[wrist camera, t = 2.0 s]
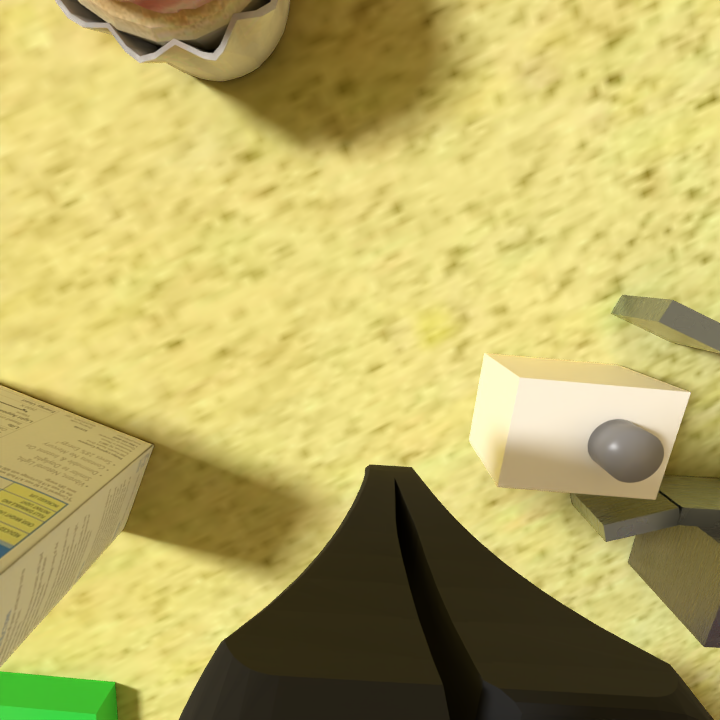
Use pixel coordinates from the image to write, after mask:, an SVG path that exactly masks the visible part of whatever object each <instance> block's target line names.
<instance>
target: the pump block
mask: <svg viewBox="0 0 720 720" xmlns="http://www.w3.org/2000/svg"><path fill="white" fill-rule="evenodd" d="M690 394H691V392H689V391H686V390H684V389H681V388H678V387H676V386H673V385H671V384H668V383H665V382H663V381H660V380H657V379H655V378H652V377H649V376H647V375H644V374H641V373H639V372H636V371H633V370H631V369H628V368H625V367H623V366H620V365H617V364H606V363H594V362H583V361H571V360H560V359H548V358H537V357H525V356H514V355H502V354H491V353H484V358H483V363H482V369H481V375H480V380H479V386H478V392H477V397H476V403H475V409H474V414H473V420H472V426H471V431H470V437H469V442H470V443H471V445H472V447H473V448H474V450H475V451H476V453H477V455H478V456H479V458H480V459H481V461H482V463H483V464H484V466H485V468H486V469H487V471H488V472H489V474H490V476H491V477H492V479H493V481H494V482H495V484H496V485H497V487H505V488H517V489H530V490H542V491H554V492H566V493H579V494H591V495H603V496H615V497H628V498H640V499H652V500H656V497H657V494H658V491H659V488H660V485H661V482H662V479H663V476H664V473H665V469H666V466H667V463H668V460H669V457H670V454H671V451H672V448H673V445H674V442H675V439H676V436H677V433H678V430H679V427H680V424H681V421H682V418H683V415H684V412H685V409H686V406H687V403H688V400H689V397H690Z"/></svg>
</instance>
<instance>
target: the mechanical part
mask: <svg viewBox="0 0 720 720" xmlns="http://www.w3.org/2000/svg"><path fill="white" fill-rule="evenodd" d="M0 720H118V715H117V701H116V687H115V682H108V681H97V680H86V679H76V678H65V677H54V676H43V675H32V674H22V673H11V672H0Z"/></svg>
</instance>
